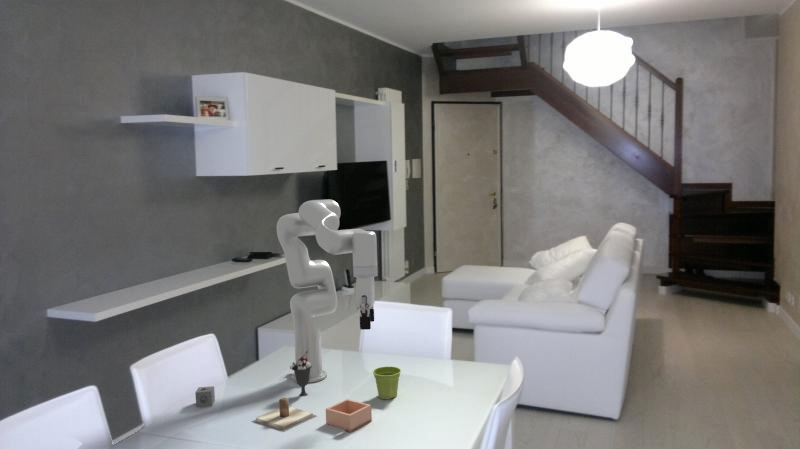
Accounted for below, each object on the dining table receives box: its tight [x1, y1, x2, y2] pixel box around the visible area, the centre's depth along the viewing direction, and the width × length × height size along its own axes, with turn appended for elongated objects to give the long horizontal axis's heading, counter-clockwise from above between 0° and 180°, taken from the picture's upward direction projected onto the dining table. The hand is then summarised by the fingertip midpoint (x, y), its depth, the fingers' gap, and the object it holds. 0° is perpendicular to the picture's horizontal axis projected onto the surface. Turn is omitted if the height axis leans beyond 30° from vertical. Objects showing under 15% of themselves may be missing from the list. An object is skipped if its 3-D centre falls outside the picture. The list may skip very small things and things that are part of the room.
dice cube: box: [195, 385, 216, 408], centre depth 214 cm, size 5×5×5 cm
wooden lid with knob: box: [255, 397, 314, 430], centre depth 198 cm, size 12×12×6 cm
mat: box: [251, 414, 318, 433], centre depth 198 cm, size 14×14×1 cm
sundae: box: [291, 352, 312, 397], centre depth 218 cm, size 7×7×15 cm
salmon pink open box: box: [325, 398, 373, 433], centre depth 194 cm, size 10×10×5 cm
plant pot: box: [372, 365, 402, 400], centre depth 216 cm, size 9×9×9 cm
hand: (367, 325), depth 204 cm, fingers open, 9 cm apart
